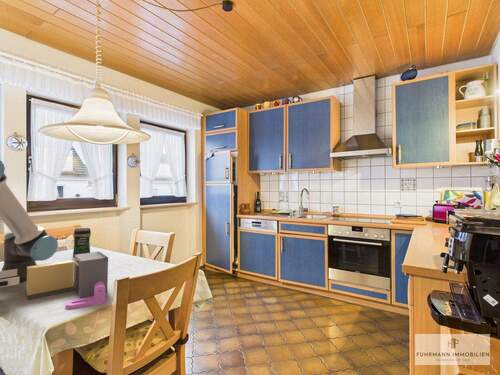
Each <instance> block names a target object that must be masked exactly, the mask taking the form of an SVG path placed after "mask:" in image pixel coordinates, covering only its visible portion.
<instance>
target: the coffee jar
mask: <svg viewBox="0 0 500 375" xmlns="http://www.w3.org/2000/svg"><path fill="white" fill-rule="evenodd" d="M91 235H92V231H91V229H90V227H79V228H75V229H74V231H73V237H74V244H73V250H72V251H73V252H72V257H73V258H74V255H77V254H84V253H91V246H90V244H91V243H90V238H91Z"/></svg>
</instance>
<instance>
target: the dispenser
mask: <svg viewBox="0 0 500 375" xmlns="http://www.w3.org/2000/svg"><path fill="white" fill-rule="evenodd" d="M73 259H74V260H73V261H74V288H75V292H77V293H78V297H79V299H82V298H88V297H93V296H94V286H95V284H96V283H98V282H103V283H104V284H105V293H108V282H109V281H108V280H109V279H108V278H109V276H108V275H109V257H108V256H107V255H106V254H104V253H102V252H101V251H93V252H90V253H84V254H77V255H74V257H73Z"/></svg>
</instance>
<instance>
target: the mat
mask: <svg viewBox="0 0 500 375" xmlns="http://www.w3.org/2000/svg"><path fill="white" fill-rule="evenodd" d="M24 291H25V295H26V300H27V301H31V300H36V299H40V298H45V297H50V296H54V295H59V294H64V293H69V292H74V291H75V288H74V283H73V287H68V288H63V289H58V290H53V291H48V292H43V293H38V294H33V295H28V296H27V293H26V289H25V290H24ZM75 292H76V291H75Z"/></svg>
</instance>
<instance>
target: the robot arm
mask: <svg viewBox="0 0 500 375" xmlns="http://www.w3.org/2000/svg"><path fill="white" fill-rule="evenodd" d="M5 170H6V167H5V164H4V162H3V161H2V159H0V219H1V221H2V222H3V224H5V226H6V227H7V229H8V230H9V231H10V232H7V233H5V235H4V240H3V242H4V244H3V247H4V248H3V253H4V254H3V265H2V267H1V270H0V288H5V287H11V286H16V285H20V283H21V282H24V281H26V282H27V266H34V265H38V264H37V261H38V262H39V261H40V262H42V261H46V260H48V259H50V258H52V257H54V255H55V254H56V252H57V250H58V247H59V242H58V239H57V238H56V237H54V236H53V235H49V234H48V233H47V232H46V230H45V228H44V227H43V226H37V224H36V223H35V222H34V220H33V218H31V216H30V215H29V213H28V212H27V211H26V209H25V208H24V206H23V205H22V203H21V202H20V201H19V199H18V198H17V197H16V196H15V194H14V192H13V191H12V190H11V188H10V187H9V186H8V184H7V183H6V182H7V180H8V176H6V173H5Z"/></svg>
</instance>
